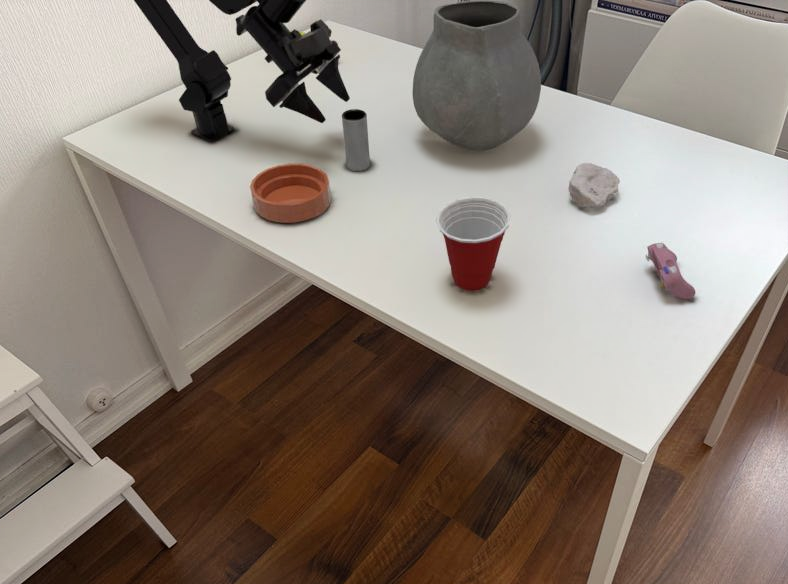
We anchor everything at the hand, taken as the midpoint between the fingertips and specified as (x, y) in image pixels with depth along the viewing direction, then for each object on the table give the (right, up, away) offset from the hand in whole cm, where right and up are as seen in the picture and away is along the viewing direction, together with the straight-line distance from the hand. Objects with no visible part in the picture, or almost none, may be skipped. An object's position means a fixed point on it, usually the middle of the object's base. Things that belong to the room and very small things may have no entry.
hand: (336, 110), depth 123 cm
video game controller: (+54, -34, -18) cm, 67 cm away
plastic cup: (+24, -34, -18) cm, 45 cm away
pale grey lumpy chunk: (+47, -16, -1) cm, 49 cm away
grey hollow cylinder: (+3, -8, +7) cm, 11 cm away
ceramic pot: (+26, -1, +14) cm, 30 cm away
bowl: (-7, -18, -3) cm, 19 cm away
